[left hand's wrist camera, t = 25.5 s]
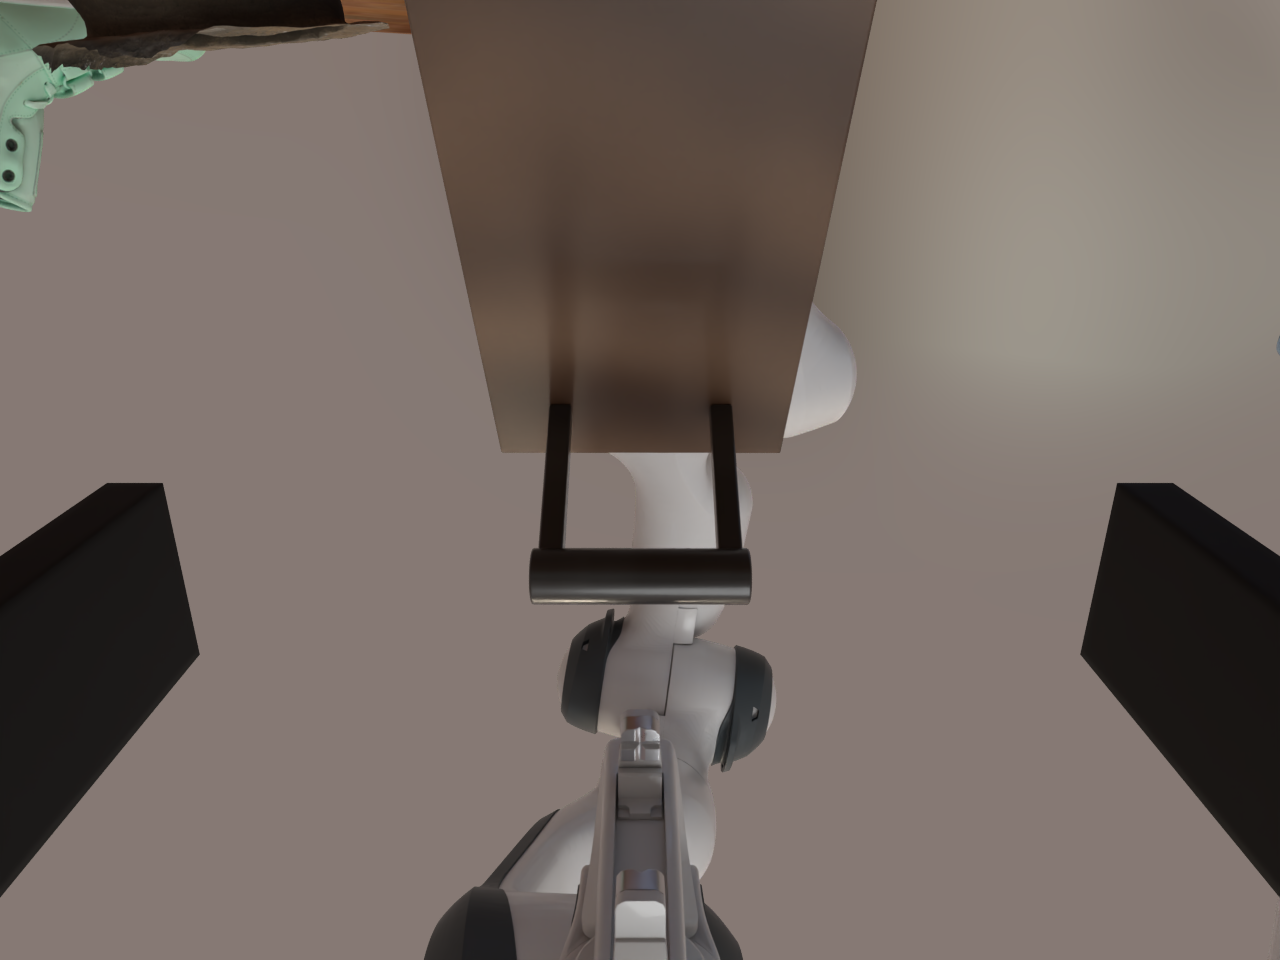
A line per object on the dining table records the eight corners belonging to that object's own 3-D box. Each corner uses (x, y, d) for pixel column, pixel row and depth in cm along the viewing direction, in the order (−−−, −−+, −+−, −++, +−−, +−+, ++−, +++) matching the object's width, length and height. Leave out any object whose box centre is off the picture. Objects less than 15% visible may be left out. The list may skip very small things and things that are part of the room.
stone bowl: (-94, -85, 56) (-44, 77, 60) (278, -133, 53) (310, 41, 56) (151, -22, 79) (178, 92, 82) (422, -53, 76) (439, 67, 79)
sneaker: (175, 0, 99) (208, 193, 107) (-245, -38, 75) (-164, 215, 83) (234, -11, 91) (266, 199, 99) (-216, -58, 67) (-129, 226, 74)
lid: (777, 425, 31) (800, 637, 27) (504, 425, 31) (480, 637, 27) (871, -47, 18) (947, 205, 14) (409, -47, 18) (332, 205, 14)
